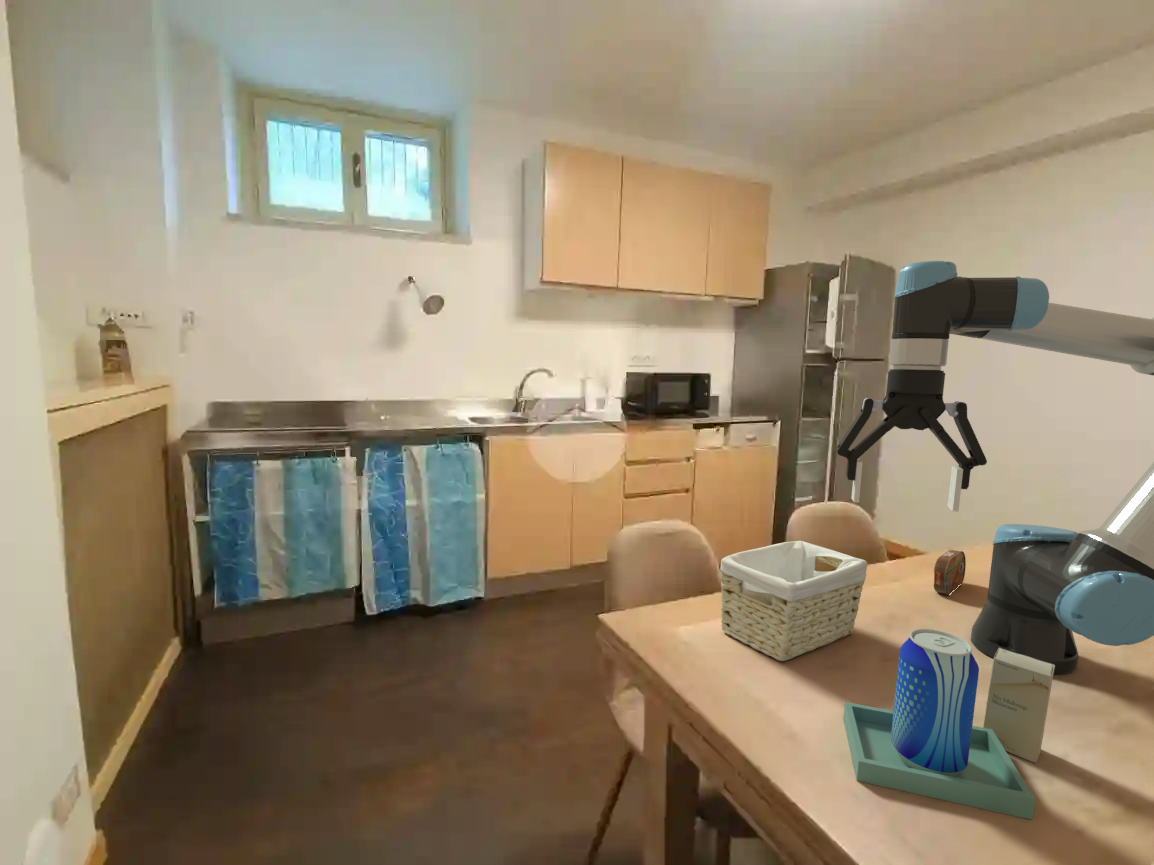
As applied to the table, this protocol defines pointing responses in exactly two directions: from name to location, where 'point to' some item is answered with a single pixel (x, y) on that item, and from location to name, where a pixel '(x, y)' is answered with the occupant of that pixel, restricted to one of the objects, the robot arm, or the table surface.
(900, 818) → the table surface
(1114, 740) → the table surface
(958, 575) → the tin
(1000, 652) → the skincare box
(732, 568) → the storage basket
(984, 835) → the table surface
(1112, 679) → the table surface
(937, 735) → the beer can
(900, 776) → the tray
